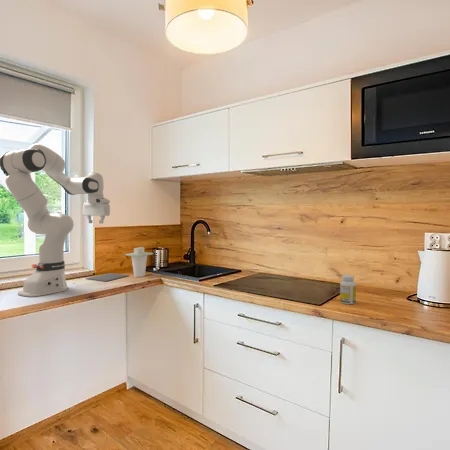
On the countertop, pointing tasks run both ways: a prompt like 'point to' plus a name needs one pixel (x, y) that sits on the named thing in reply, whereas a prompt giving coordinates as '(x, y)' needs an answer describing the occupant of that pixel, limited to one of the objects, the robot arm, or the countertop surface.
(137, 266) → the foam cup
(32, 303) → the countertop surface
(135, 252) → the lid
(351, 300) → the pill bottle
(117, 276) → the mat
